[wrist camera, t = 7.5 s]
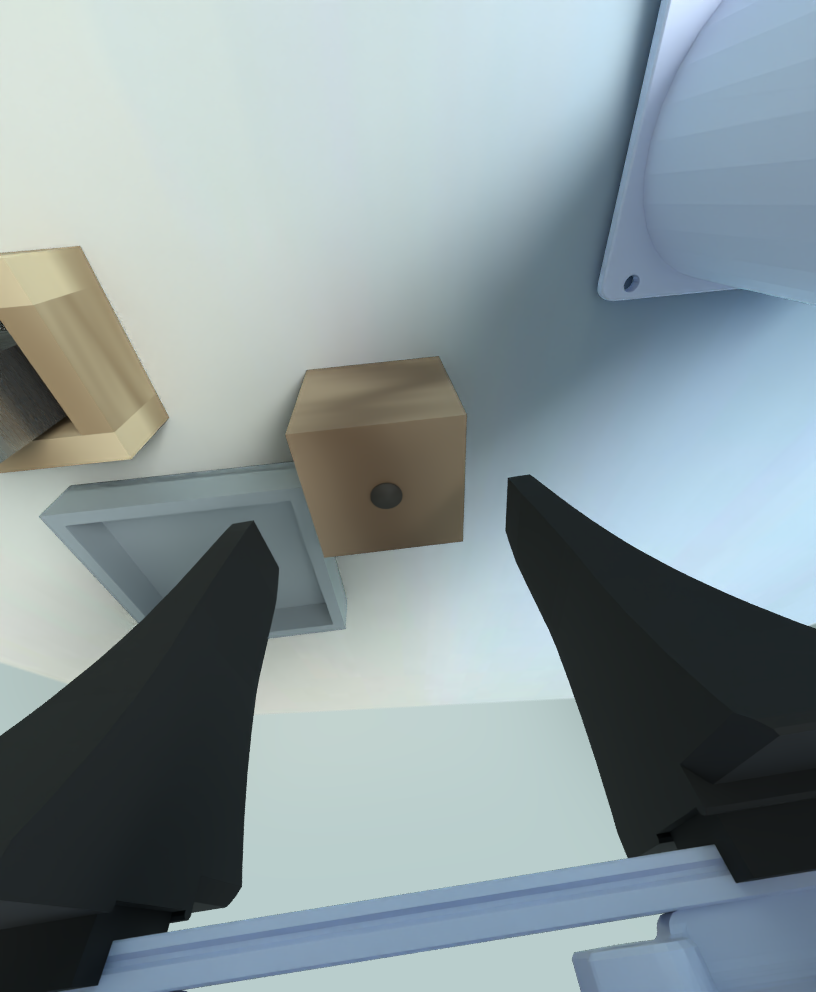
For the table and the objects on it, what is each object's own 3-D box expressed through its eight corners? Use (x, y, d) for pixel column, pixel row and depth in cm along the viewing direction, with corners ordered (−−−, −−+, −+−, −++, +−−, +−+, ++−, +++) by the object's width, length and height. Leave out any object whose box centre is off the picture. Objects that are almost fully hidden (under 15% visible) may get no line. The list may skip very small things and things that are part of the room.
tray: (307, 459, 16) (301, 487, 15) (347, 599, 23) (345, 628, 21) (70, 485, 16) (38, 516, 14) (178, 619, 22) (164, 651, 21)
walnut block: (438, 355, 14) (467, 416, 10) (440, 464, 17) (463, 542, 13) (306, 369, 14) (284, 436, 10) (333, 476, 17) (324, 559, 13)
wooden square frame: (79, 246, 11) (3, 258, 9) (168, 417, 14) (131, 459, 12) (-117, 263, 11) (-249, 280, 8) (22, 432, 14) (-45, 477, 12)
